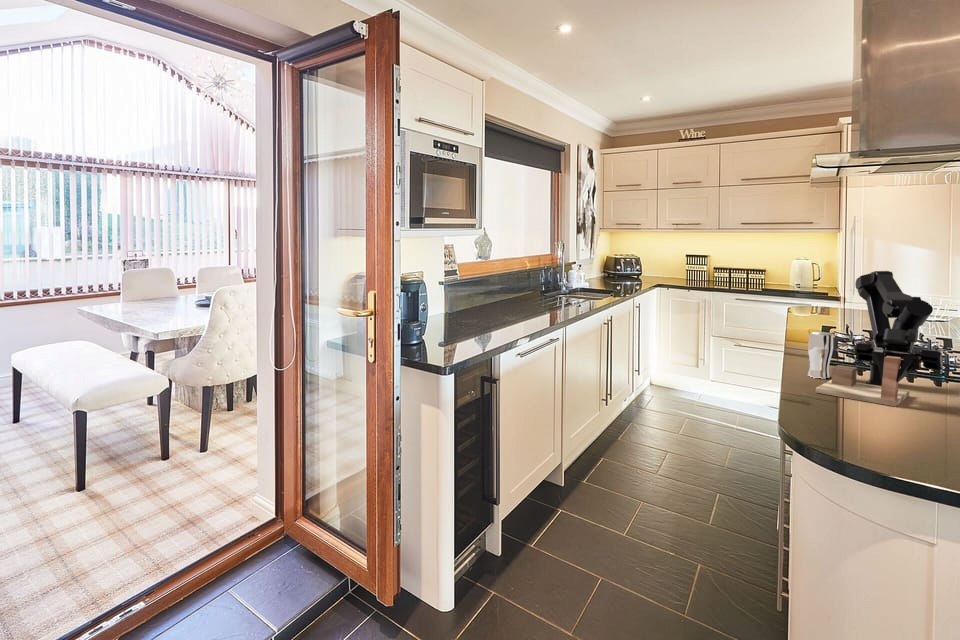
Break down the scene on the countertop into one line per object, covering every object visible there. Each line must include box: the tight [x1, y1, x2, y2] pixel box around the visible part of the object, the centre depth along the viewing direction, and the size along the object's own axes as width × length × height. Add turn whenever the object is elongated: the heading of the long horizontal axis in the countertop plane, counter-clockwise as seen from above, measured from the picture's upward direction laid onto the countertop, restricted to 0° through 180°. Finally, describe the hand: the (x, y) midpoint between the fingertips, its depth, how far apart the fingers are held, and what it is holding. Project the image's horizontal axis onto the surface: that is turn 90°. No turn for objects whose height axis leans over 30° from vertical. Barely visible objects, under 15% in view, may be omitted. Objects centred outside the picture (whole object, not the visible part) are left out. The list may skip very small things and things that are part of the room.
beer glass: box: [807, 331, 834, 380], centre depth 168 cm, size 7×7×15 cm
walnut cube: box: [831, 364, 858, 387], centre depth 154 cm, size 5×5×5 cm
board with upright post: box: [815, 356, 910, 407], centre depth 147 cm, size 15×19×13 cm
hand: (889, 380), depth 137 cm, fingers closed on board with upright post, 3 cm apart
